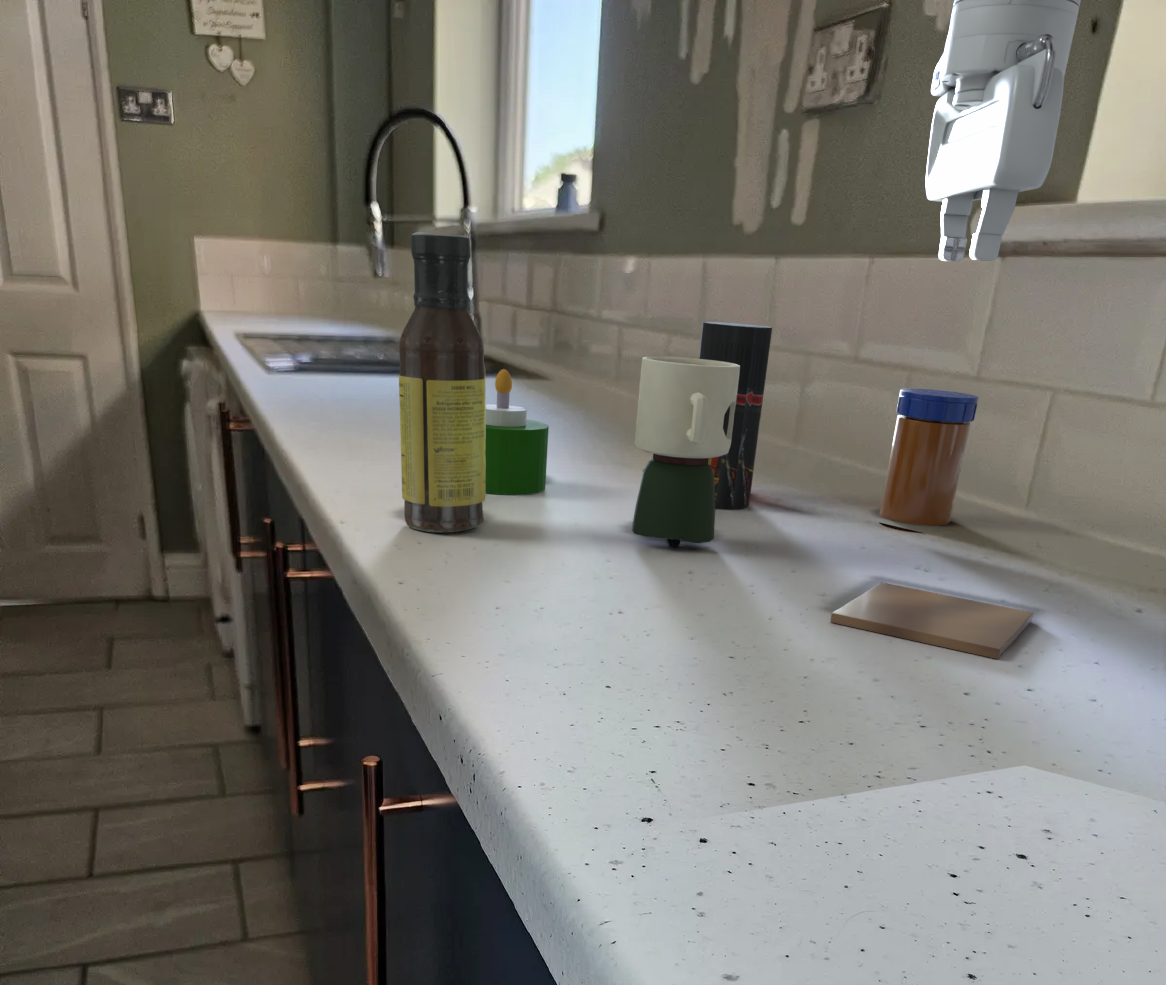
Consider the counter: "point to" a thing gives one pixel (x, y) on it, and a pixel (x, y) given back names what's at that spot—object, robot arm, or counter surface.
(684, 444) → the character mug
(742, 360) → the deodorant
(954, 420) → the jar lid
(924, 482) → the jar
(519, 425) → the candle
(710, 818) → the counter surface
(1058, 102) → the robot arm
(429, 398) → the sauce bottle
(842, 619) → the coaster
